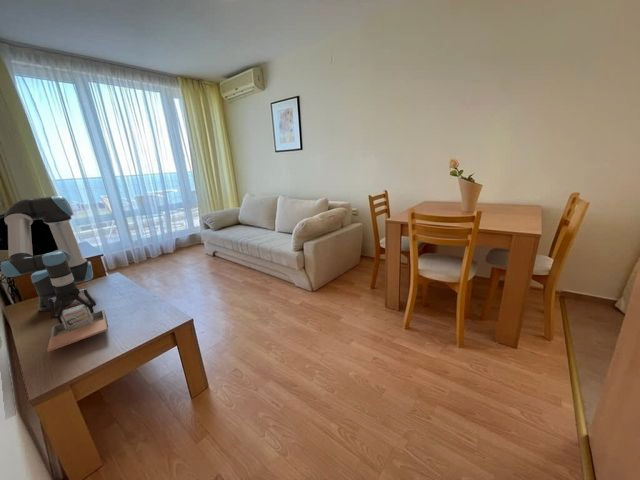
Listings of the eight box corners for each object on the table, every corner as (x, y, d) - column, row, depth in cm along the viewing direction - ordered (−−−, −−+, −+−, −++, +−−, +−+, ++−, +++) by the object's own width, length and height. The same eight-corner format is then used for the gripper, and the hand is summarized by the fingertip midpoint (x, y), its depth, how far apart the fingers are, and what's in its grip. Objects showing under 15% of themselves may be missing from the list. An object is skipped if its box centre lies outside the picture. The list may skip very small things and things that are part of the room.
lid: (47, 350, 107) (47, 352, 108) (106, 328, 120) (107, 330, 120) (50, 337, 117) (50, 339, 117) (105, 318, 130) (105, 320, 130)
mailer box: (55, 333, 128) (52, 326, 127) (106, 316, 141) (103, 309, 139) (54, 346, 119) (50, 338, 117) (108, 326, 131) (105, 319, 130)
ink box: (70, 335, 125) (61, 314, 121) (70, 330, 128) (62, 310, 125) (93, 327, 131) (85, 307, 127) (92, 323, 134) (84, 303, 130)
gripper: (29, 294, 112) (48, 337, 119) (93, 278, 126) (107, 317, 133) (31, 288, 117) (49, 330, 124) (93, 273, 131) (106, 311, 138)
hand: (79, 323), depth 129 cm, fingers open, 9 cm apart
